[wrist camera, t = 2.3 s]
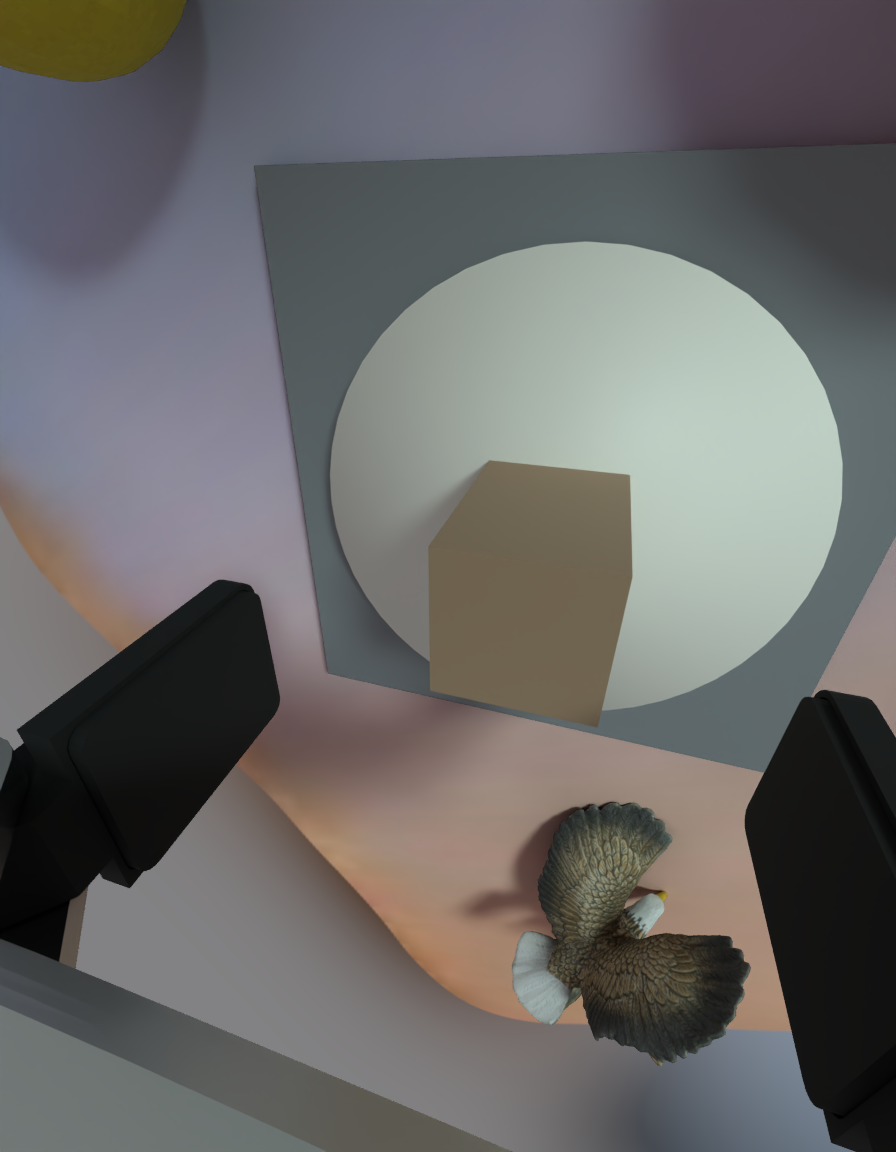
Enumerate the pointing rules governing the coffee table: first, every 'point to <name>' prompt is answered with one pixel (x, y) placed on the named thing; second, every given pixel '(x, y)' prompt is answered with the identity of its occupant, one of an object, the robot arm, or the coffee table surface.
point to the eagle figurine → (623, 943)
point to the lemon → (84, 36)
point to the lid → (585, 479)
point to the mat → (620, 216)
